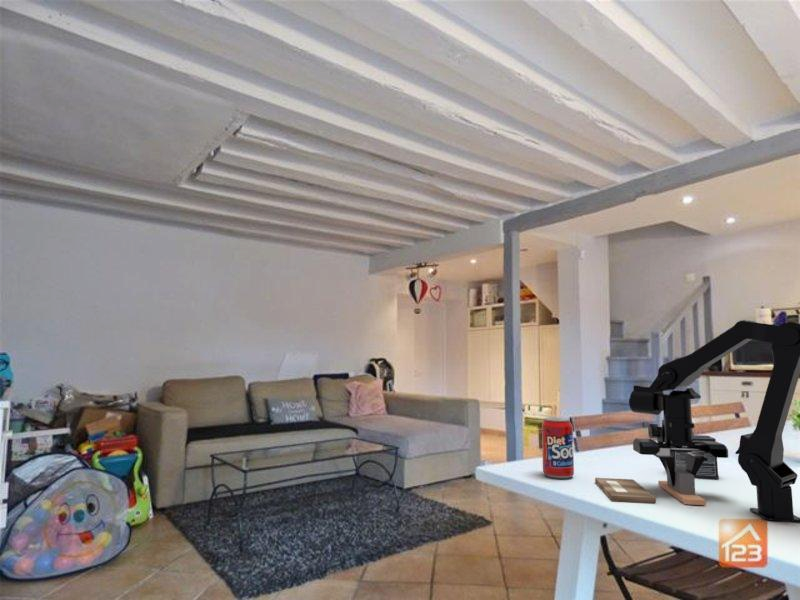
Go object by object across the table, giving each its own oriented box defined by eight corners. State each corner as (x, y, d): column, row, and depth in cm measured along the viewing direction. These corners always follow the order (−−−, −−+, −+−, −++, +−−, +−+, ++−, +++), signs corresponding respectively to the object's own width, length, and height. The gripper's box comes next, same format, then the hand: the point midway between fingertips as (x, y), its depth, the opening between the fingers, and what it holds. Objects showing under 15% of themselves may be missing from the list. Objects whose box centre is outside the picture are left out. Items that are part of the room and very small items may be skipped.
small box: (711, 474, 135) (709, 434, 136) (719, 480, 128) (717, 438, 129) (668, 471, 137) (666, 432, 139) (674, 477, 131) (672, 436, 132)
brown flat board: (655, 503, 107) (655, 497, 108) (612, 501, 109) (611, 495, 109) (633, 484, 123) (633, 479, 123) (595, 482, 124) (595, 477, 125)
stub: (706, 505, 106) (704, 480, 106) (684, 504, 106) (683, 479, 107) (676, 485, 122) (675, 463, 122) (658, 484, 122) (657, 463, 123)
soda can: (555, 471, 136) (553, 415, 138) (580, 477, 130) (578, 419, 131) (536, 475, 132) (535, 417, 133) (561, 481, 125) (560, 421, 127)
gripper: (705, 414, 122) (708, 479, 121) (625, 412, 125) (627, 475, 123) (727, 420, 111) (731, 492, 110) (639, 417, 114) (642, 487, 113)
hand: (680, 486), depth 114 cm, fingers closed on stub, 3 cm apart
